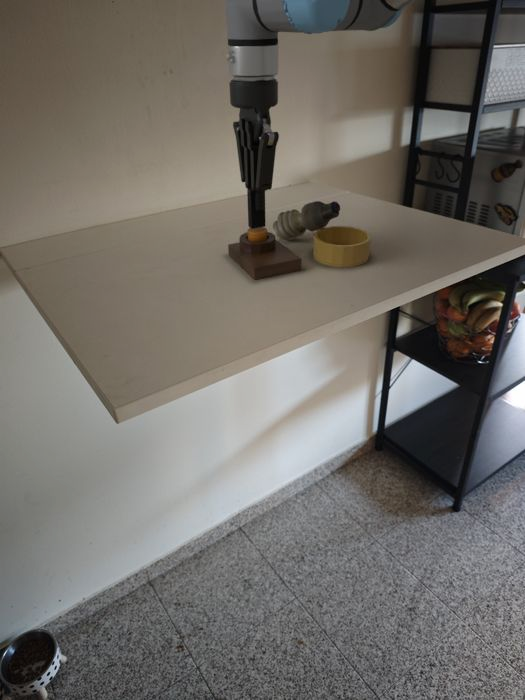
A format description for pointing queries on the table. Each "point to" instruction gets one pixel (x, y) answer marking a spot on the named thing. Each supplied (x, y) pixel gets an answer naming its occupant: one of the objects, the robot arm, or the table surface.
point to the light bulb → (305, 219)
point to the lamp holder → (341, 246)
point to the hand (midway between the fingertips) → (256, 226)
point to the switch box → (264, 257)
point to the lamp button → (257, 234)
